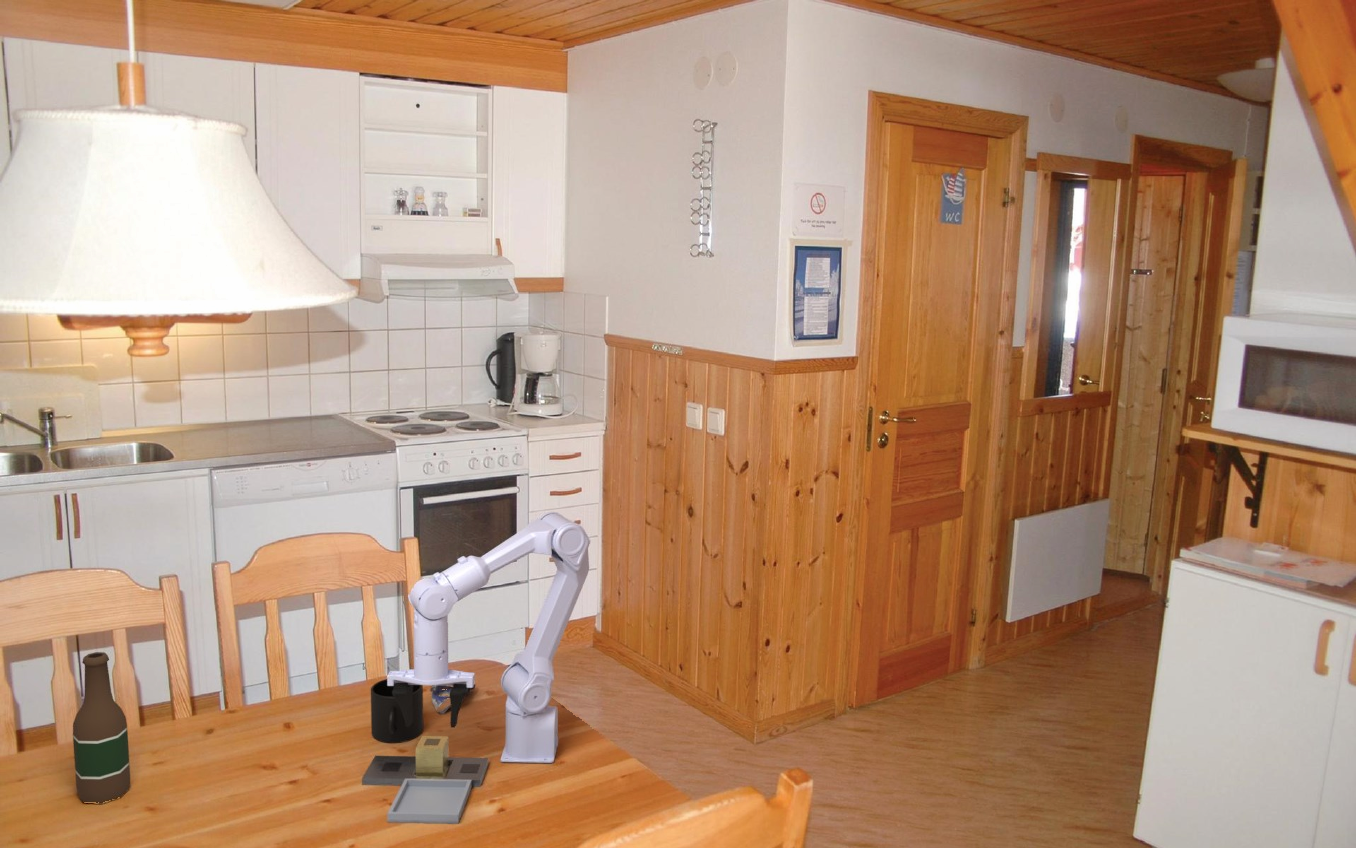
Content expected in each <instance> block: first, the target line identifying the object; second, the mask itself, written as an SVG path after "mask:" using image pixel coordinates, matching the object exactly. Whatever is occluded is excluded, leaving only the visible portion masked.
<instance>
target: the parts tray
mask: <svg viewBox="0 0 1356 848" xmlns="http://www.w3.org/2000/svg"><path fill="white" fill-rule="evenodd" d="M472 788H473V787H472V780H459V779H408V778H405V780H404V782H403V784H402V785H400V788H399V789H398V792H397V793H396V796H395V798H394V799H393V802H392V803H391V805H390V807H389V809H388V811H387V816H386V817H387V818H386V819H387V820H386V821H387V823H401V824H402V823H404V824H406V823H407V824H408V823H409V824H449V825H450V824H452V825H453V824H457V825H458V824H459V822H460V820H461V818H462V815H463V812H464V809H465V807H466V804H467V801H468V799H469V796H470V793H471V790H472Z"/></svg>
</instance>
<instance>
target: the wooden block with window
mask: <svg viewBox="0 0 1356 848" xmlns="http://www.w3.org/2000/svg"><path fill="white" fill-rule="evenodd" d="M415 756H416V773H415V776H432V777H446V776H447V773H448V771H449V769H450V766H449V759H448V757H449V736H444V735H443V736H441V735H440V736H439V735H438V736H437V735H434V736H433V735H422V736H421V737H420V739H419V741H418V743H417V745H416V747H415Z"/></svg>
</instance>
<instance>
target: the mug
mask: <svg viewBox="0 0 1356 848" xmlns="http://www.w3.org/2000/svg"><path fill="white" fill-rule="evenodd" d="M423 686H424V685H413V696H412V706H413V722H412V724H411V726H410V727H406V724H405V720H404V716H403V713H402V710H401V708H400V706H399V704H398V702H397V701H396V699H395V698H394V696H393V693H392V691H393V689H394V686H387V678H385V679H382V680H379V681H377V682H376V683H374V684H373V685H372V686H371V687H370V715H371V716H370V717H371V718H370V720H371V724H370V725H371V736H372V737H373V738H374V739H375V740H376V741H378V742H381V743H388V744H394V743H395V744H396V743H403V742H409V741H411V740H414V739H416V738H417V737H419V736H420V735H421V734H422V733H423V731H424V692H423V691H424V689H423V688H424V687H423Z"/></svg>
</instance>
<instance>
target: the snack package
mask: <svg viewBox="0 0 1356 848" xmlns="http://www.w3.org/2000/svg"><path fill="white" fill-rule="evenodd" d="M475 687H476V683H475V684H474V686H473V688H467V690H466V693H465V695H464V698H463V700H462V701H464V700H465V699H466V697H467V696H468V695H469V693H470V692H471V691H472V690H475ZM452 688H453V686H441V685H431V687H430V692H431V701H432V704H433V705H434V709H435V711H436V712H437V713H438V714H441V715H443V714H446V712H447V711H448V709H449V708H450V709H451V704H449V705H448V706H447V707H446V708H444V709H442V710H441V711H439V710H438V709H439V707H441V706H442V705H443V704H445V703H446V702H445V701H446V700H448V699H447V698H449V699H450V696H449V695H450V691H451V689H452ZM442 689H445V690H442ZM446 689H447V690H446ZM439 695H441V696H439ZM442 695H444V696H442ZM445 695H448V696H445ZM442 703H443V704H442Z"/></svg>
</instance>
